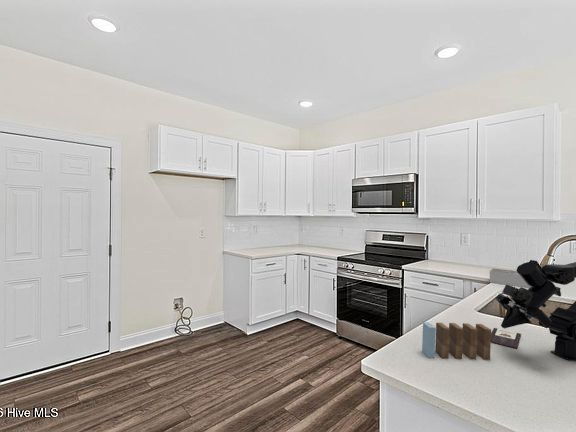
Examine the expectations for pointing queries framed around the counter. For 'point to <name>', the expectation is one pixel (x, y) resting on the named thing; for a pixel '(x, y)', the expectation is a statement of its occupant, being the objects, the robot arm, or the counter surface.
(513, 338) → the chocolate bar
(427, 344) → the domino
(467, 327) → the domino
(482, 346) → the domino
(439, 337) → the domino
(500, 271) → the gray rectangular block
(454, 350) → the domino
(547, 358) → the counter surface
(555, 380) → the counter surface
